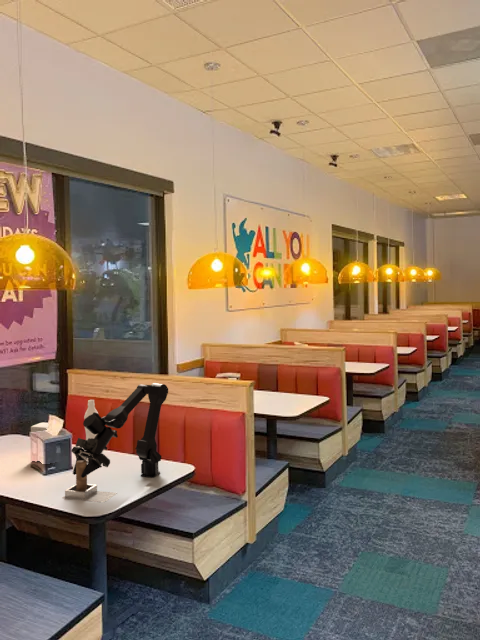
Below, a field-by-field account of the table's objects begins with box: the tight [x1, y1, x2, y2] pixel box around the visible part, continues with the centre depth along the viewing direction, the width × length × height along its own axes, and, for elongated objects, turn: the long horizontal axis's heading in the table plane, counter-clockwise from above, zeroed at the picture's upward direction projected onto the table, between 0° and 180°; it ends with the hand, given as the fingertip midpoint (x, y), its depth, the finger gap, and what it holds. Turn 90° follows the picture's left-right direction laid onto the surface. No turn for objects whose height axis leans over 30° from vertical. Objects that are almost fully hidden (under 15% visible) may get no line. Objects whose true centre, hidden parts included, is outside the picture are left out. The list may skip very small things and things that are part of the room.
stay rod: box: [75, 459, 88, 492], centre depth 216 cm, size 4×4×12 cm
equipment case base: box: [61, 490, 118, 503], centre depth 215 cm, size 18×10×2 cm, turn 74°
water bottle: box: [83, 399, 99, 440], centre depth 282 cm, size 7×7×25 cm
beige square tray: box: [64, 483, 98, 499], centre depth 216 cm, size 9×9×2 cm
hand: (77, 475), depth 215 cm, fingers open, 5 cm apart
